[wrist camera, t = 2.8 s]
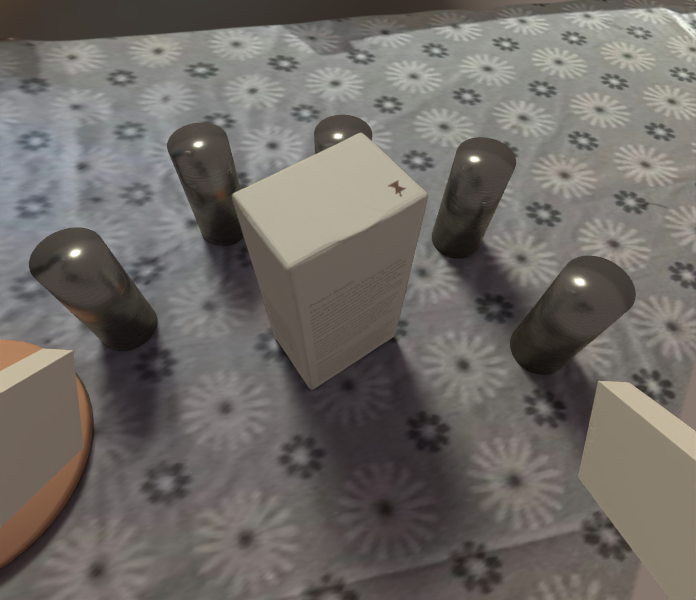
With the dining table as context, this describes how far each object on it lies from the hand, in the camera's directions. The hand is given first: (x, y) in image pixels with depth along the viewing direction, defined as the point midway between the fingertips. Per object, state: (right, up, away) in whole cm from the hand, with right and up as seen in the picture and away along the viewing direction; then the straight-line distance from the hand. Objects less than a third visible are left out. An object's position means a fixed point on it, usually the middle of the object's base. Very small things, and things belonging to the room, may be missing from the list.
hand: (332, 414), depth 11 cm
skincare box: (0, +1, +15) cm, 15 cm away
